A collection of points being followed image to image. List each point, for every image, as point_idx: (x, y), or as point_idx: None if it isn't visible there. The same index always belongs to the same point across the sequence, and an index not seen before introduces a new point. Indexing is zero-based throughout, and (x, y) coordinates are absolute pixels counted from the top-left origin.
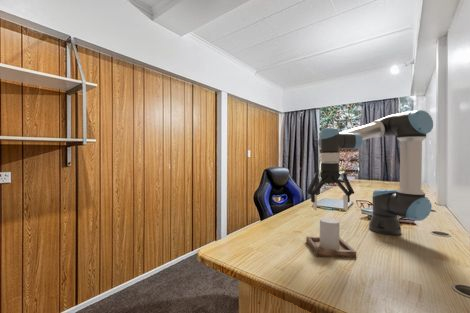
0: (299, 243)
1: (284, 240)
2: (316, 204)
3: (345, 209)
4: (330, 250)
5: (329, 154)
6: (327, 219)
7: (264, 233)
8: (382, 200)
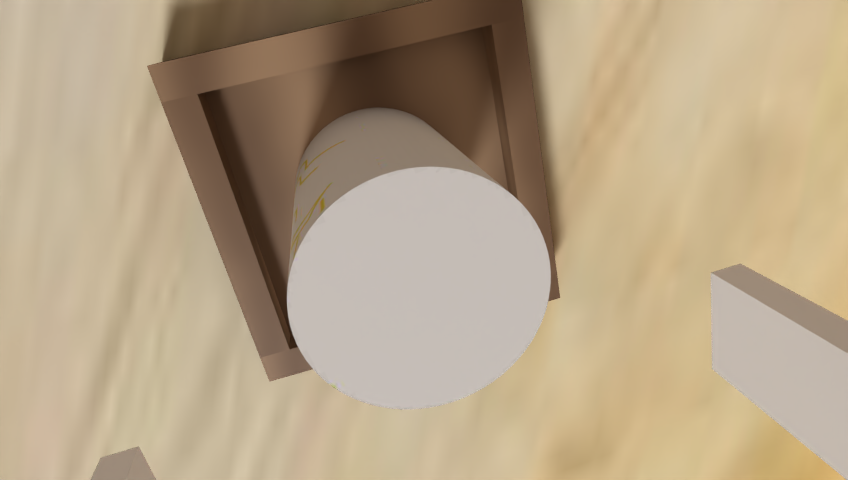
0: (600, 227)
1: (704, 250)
2: (810, 327)
3: (148, 475)
4: (394, 28)
5: None
6: (445, 333)
7: None
8: None
